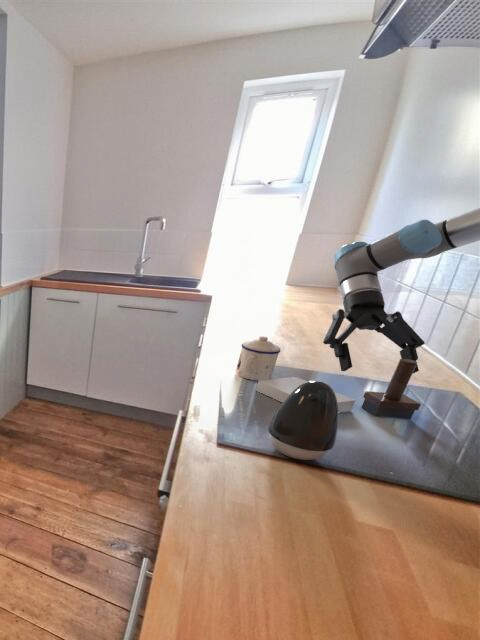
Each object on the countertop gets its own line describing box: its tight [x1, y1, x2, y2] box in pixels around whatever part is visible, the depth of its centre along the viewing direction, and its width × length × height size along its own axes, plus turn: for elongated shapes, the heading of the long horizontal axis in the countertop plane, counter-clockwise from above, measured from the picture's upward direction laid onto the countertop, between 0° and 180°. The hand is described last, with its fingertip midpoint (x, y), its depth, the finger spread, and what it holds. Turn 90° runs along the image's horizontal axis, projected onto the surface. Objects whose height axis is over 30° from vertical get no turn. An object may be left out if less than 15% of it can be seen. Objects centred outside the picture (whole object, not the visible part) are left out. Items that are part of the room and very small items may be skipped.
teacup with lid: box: [235, 335, 281, 382], centre depth 115 cm, size 12×9×12 cm
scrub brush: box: [361, 358, 422, 420], centre depth 94 cm, size 8×6×13 cm
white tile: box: [255, 376, 356, 413], centre depth 103 cm, size 15×12×3 cm
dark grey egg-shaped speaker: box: [267, 380, 339, 461], centre depth 78 cm, size 10×10×15 cm
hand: (379, 371), depth 100 cm, fingers open, 13 cm apart
